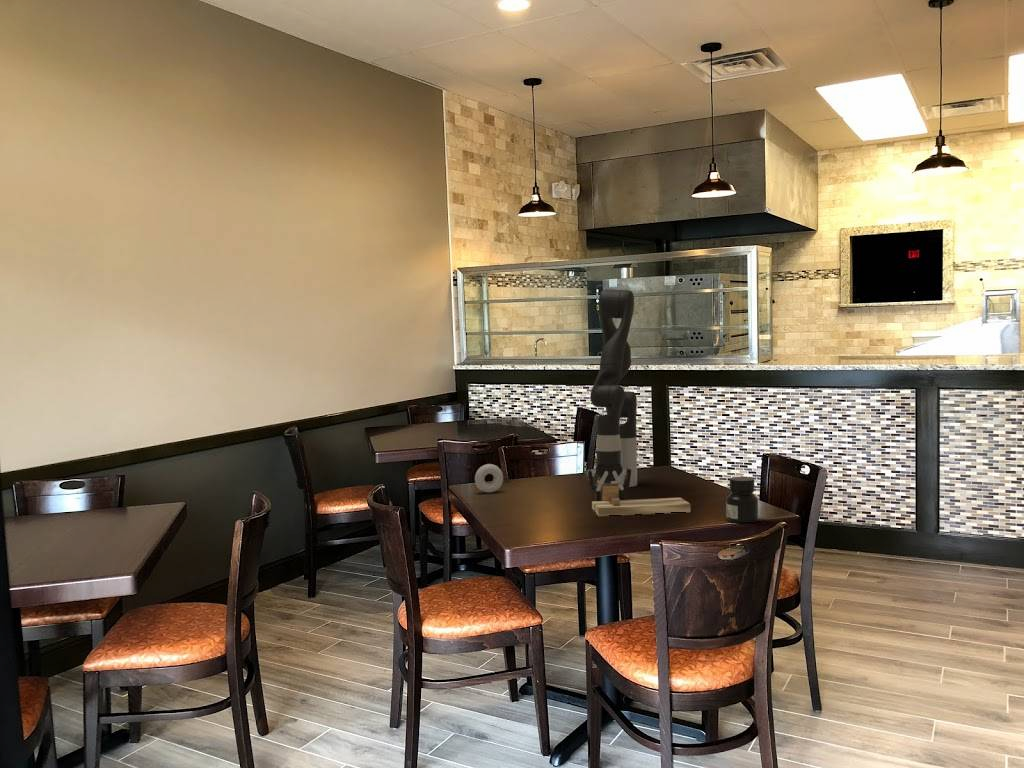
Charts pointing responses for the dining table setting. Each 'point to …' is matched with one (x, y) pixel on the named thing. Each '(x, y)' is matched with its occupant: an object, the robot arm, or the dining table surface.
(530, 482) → the dining table surface
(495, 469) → the donut
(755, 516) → the ink bottle
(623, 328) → the robot arm
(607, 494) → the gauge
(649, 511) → the board
